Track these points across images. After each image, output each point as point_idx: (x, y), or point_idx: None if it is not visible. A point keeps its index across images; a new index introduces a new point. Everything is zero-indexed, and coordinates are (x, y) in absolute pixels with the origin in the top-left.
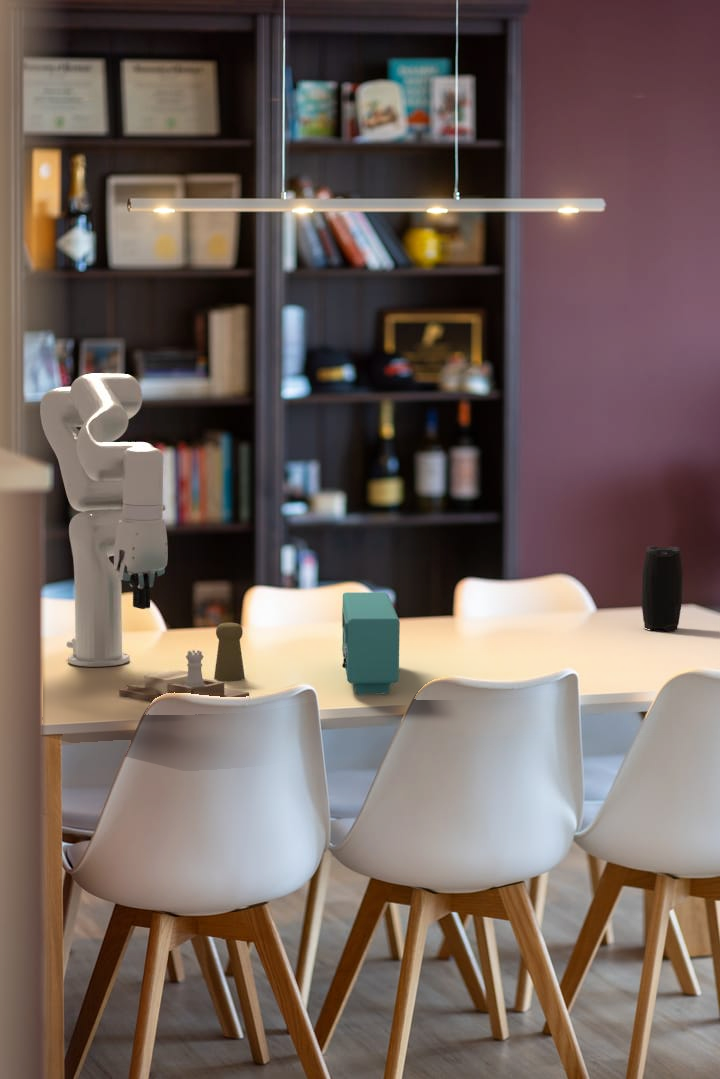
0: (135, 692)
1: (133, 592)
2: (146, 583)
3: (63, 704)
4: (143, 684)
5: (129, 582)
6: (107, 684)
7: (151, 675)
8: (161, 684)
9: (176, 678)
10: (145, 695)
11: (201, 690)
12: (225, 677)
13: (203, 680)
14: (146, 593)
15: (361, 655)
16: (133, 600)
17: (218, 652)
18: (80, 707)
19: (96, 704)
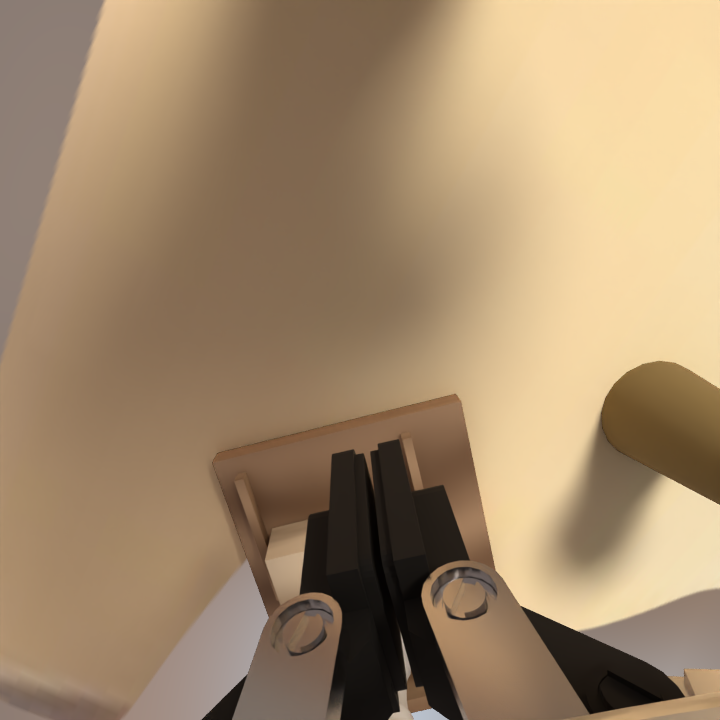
0: (239, 528)
1: (303, 584)
2: (444, 715)
3: (13, 466)
4: (317, 438)
5: (217, 718)
6: (258, 265)
7: (289, 566)
8: None
9: None
10: (251, 569)
11: None
12: (619, 448)
13: (408, 676)
14: (402, 653)
15: None
16: (308, 530)
17: (678, 445)
18: (50, 527)
19: (109, 517)
